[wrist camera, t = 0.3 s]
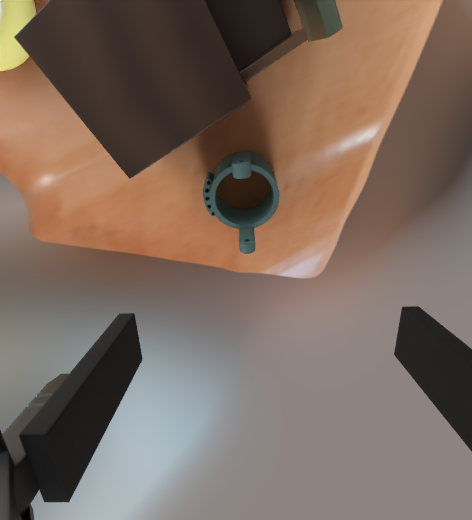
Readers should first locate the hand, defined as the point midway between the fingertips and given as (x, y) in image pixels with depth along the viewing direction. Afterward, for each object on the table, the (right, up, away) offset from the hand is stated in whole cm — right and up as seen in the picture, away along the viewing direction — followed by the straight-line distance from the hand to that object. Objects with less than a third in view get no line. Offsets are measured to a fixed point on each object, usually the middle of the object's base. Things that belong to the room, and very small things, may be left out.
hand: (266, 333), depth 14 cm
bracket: (-1, +14, +24) cm, 28 cm away
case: (-9, +24, +16) cm, 31 cm away
